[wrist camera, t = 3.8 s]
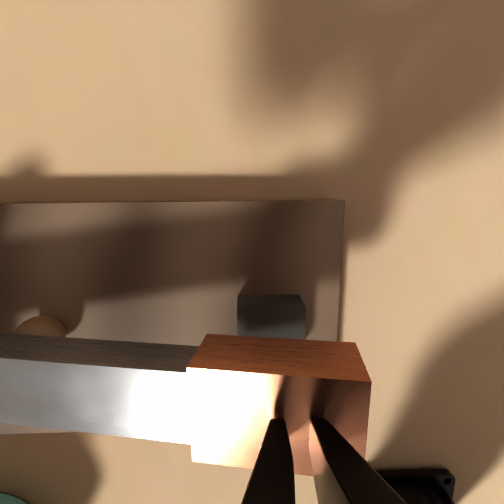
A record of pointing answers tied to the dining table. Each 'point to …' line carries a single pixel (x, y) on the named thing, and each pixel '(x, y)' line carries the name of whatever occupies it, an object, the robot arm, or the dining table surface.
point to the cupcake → (10, 499)
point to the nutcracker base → (170, 271)
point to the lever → (188, 391)
